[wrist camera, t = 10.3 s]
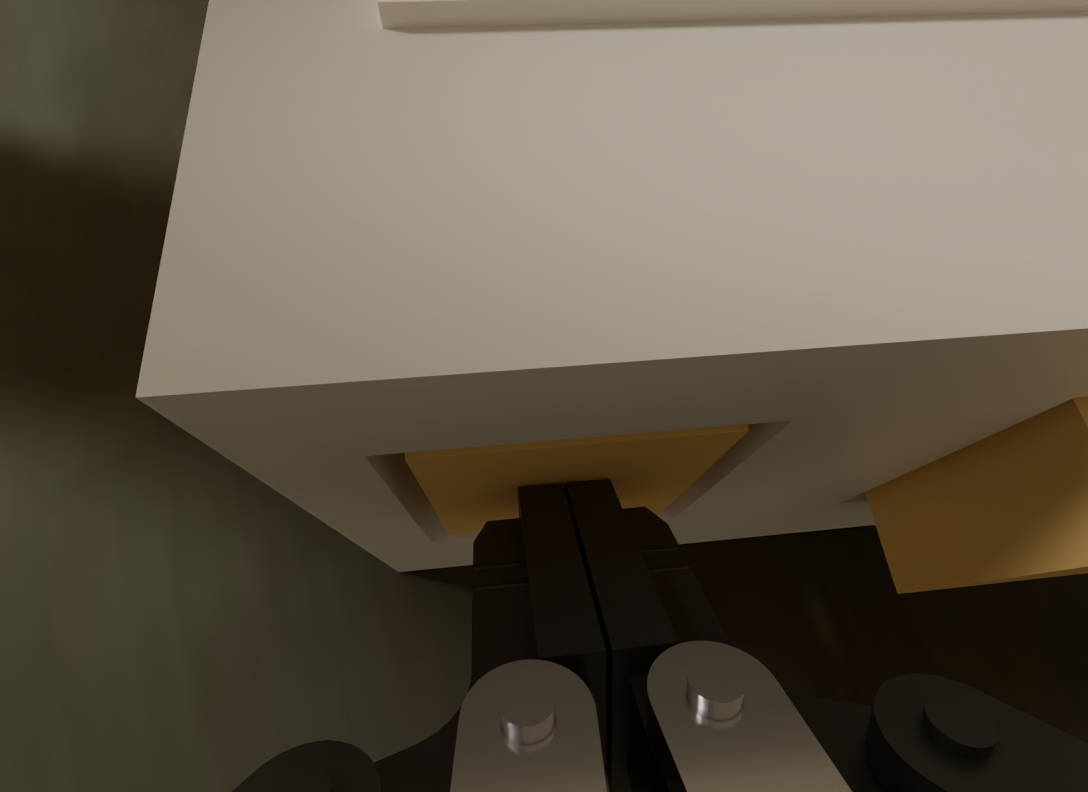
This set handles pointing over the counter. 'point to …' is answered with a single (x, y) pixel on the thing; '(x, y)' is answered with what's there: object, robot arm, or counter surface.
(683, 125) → the button console
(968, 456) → the middle button
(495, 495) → the button
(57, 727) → the counter surface
